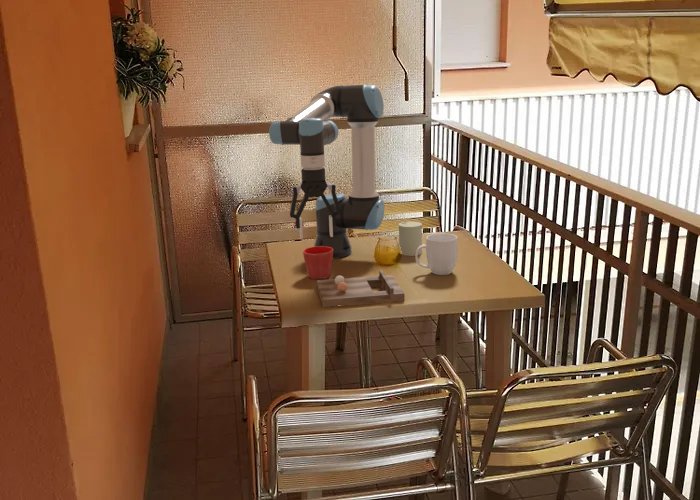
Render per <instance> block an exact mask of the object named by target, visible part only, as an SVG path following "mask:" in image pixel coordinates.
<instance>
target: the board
mask: <svg viewBox="0 0 700 500" xmlns="http://www.w3.org/2000/svg"><path fill="white" fill-rule="evenodd" d="M378 272H379V273H378V275H372V276H359V277H347V278H345V277H344V282H345V283H346V284H347V289H346V291H344V292H340V291H339V290H338V288H337V286H338V285H337V284H336V283H335V278H333V279H323V280H322V279H317V280H316V289H317V291H318V294H319V298H320V301H321V304H322V308H331V307H330V306H335V307H339V306H338V305H341V306H340V307H343V306H342V305H347V306H357V305H369V304H370V305H371V303H372V304H380V303H381V304H383V303H393V302H392V301H396V302H405V301H406V300H405V292H404V291H403V289H402V288H401V286H400V284H399V283H398V281H397V280H396V278H395V277H394V276H393V274H387V275H386V274H385V272H384V271H383V269H380V270H378ZM378 287H381V288H382V290H379V291H373V290H372V288H378Z"/></svg>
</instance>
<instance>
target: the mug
mask: <svg viewBox="0 0 700 500" xmlns="http://www.w3.org/2000/svg"><path fill="white" fill-rule="evenodd" d="M458 245H459V244H458V236H457V235H455V234H452V233H444V232H443V233H431V234H428V235H427V236H426V237H425V244H424V243H422V245H421V246H419V247H418V248H417V250H416V254H415V256H414V257H415V262H416V264H417V265H418V266H419V267H421V268H424V269H430V271H431V273H432V274H434V275H436V276H449V275H451V273H452V272H453V270H454V269H455V267H456V263H457V262H458V261H457V259H458V249H459V248H458ZM421 248H422V249H425V253H426V261H427V264H424V263H421V262H420V259H419V255H418V252H419V250H420V249H421Z"/></svg>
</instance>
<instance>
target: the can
mask: <svg viewBox="0 0 700 500" xmlns="http://www.w3.org/2000/svg"><path fill="white" fill-rule="evenodd" d="M422 229H423V224H422V222H419V221H413V220H410V221H403V222H400V223H398V246H399V245H400V247H401V251H402V255H401V256H406V257H415V254H416V250H417V248H418V247H419V246H421V245H423V238H422V236H423V231H422ZM422 254H423V248H421V249H420V250H419V252H418V256H420V255H422Z"/></svg>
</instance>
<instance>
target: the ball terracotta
mask: <svg viewBox="0 0 700 500" xmlns="http://www.w3.org/2000/svg"><path fill="white" fill-rule="evenodd" d="M337 288H338V290H339V291H340V292H344V291H346V289H347V284H346V283H345V282H340V283H339V284H338V286H337Z"/></svg>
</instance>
